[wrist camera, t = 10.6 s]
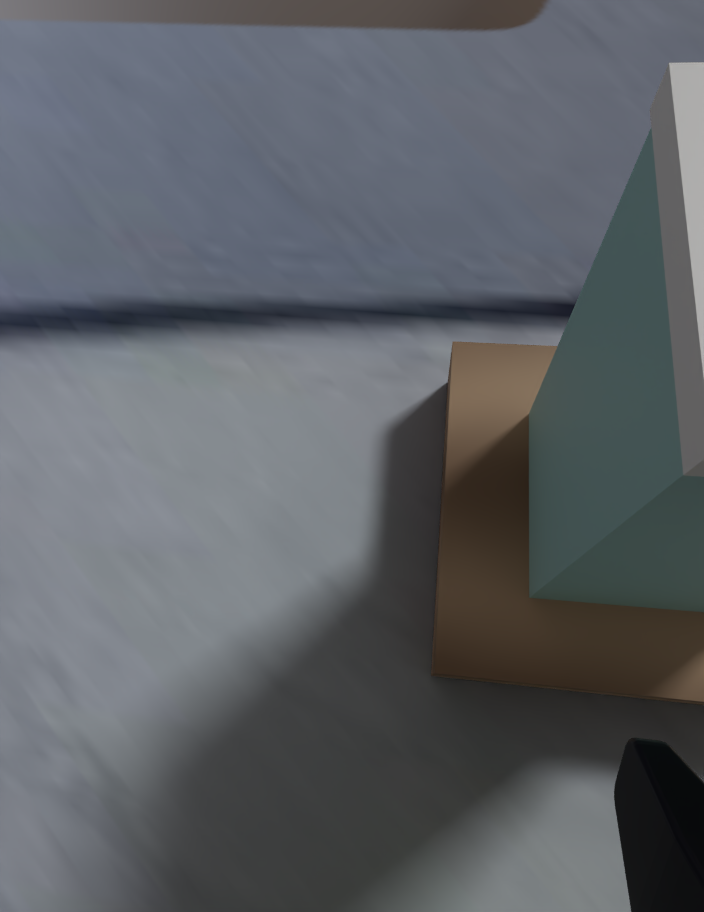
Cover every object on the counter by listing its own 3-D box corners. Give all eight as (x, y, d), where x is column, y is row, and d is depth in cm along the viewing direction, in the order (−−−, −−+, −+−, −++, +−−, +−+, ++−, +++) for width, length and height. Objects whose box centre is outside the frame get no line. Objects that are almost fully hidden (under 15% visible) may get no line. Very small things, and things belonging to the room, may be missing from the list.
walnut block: (784, 713, 20) (846, 717, 17) (431, 675, 21) (434, 673, 18) (744, 397, 23) (790, 356, 21) (448, 381, 25) (452, 341, 22)
